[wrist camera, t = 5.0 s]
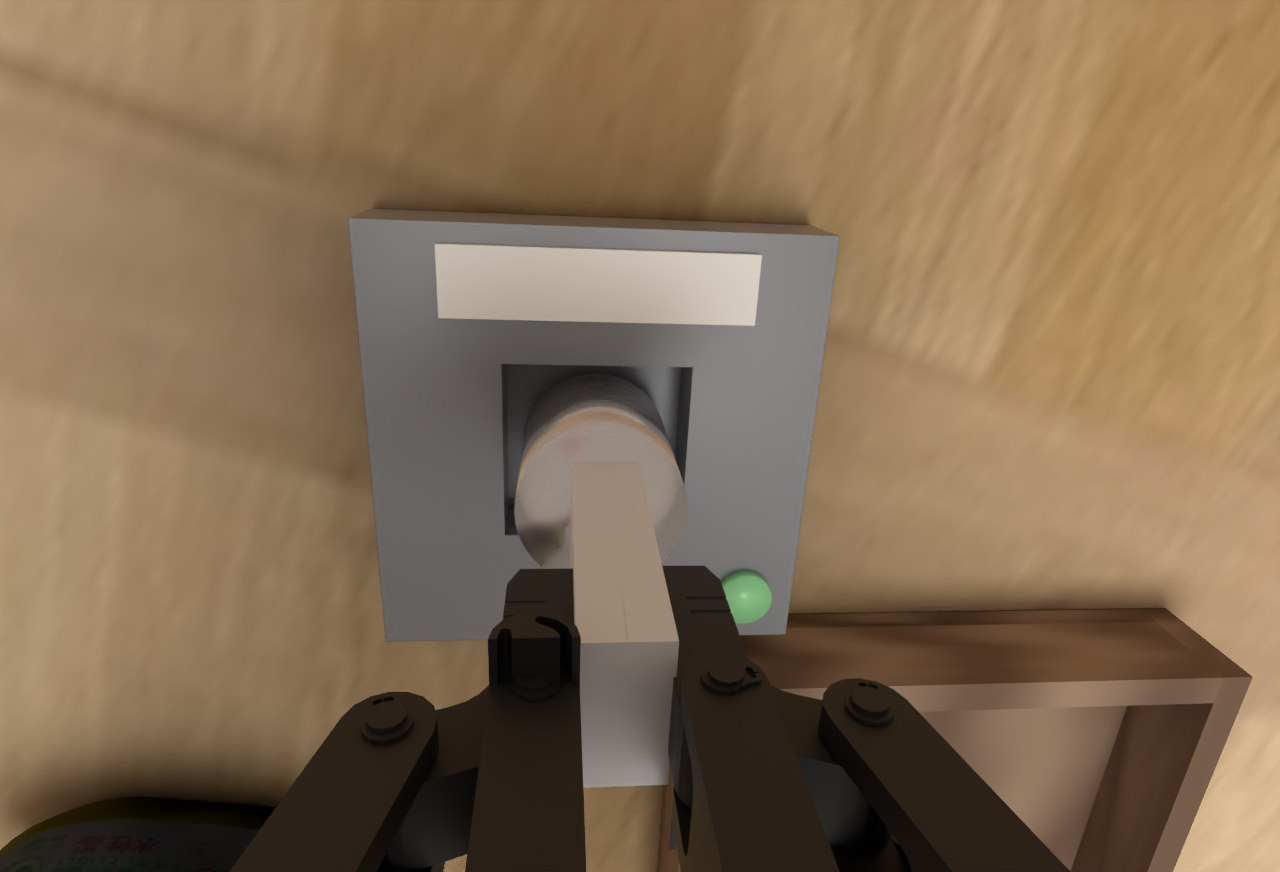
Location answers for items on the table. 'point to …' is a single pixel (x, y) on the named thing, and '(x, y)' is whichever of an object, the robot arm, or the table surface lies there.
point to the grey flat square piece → (576, 345)
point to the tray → (1041, 714)
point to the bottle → (138, 837)
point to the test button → (592, 432)
